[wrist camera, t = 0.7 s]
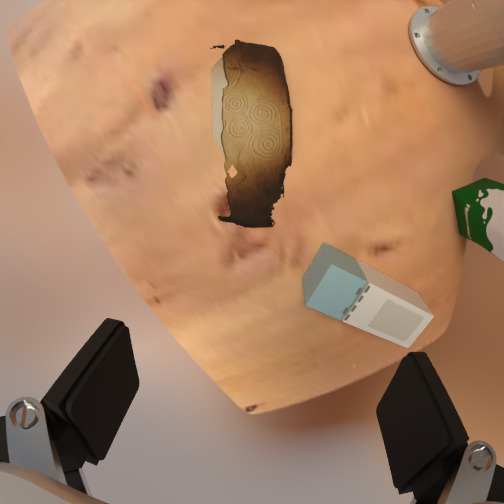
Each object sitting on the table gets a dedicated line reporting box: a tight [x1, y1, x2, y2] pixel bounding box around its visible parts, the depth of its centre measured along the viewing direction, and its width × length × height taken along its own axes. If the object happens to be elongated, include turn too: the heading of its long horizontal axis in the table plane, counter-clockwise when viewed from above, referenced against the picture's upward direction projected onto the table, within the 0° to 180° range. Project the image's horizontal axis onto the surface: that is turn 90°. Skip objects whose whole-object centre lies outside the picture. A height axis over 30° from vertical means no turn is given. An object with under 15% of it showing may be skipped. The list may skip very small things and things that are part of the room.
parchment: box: [210, 40, 292, 228], centre depth 33 cm, size 25×10×1 cm, turn 2°
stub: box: [302, 242, 367, 320], centre depth 36 cm, size 6×5×7 cm
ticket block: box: [342, 259, 434, 348], centre depth 36 cm, size 6×12×7 cm, turn 65°
